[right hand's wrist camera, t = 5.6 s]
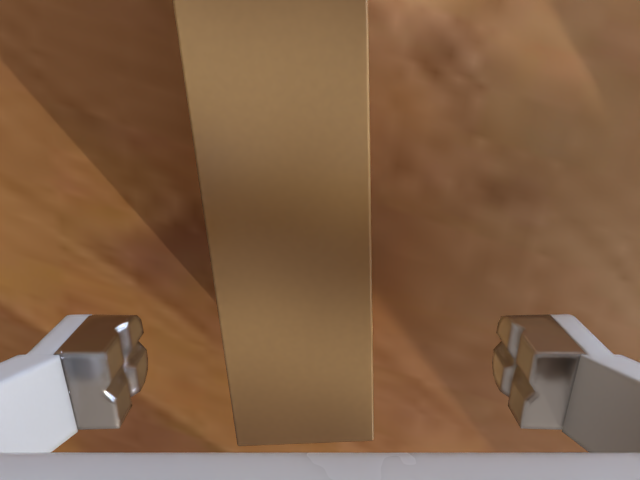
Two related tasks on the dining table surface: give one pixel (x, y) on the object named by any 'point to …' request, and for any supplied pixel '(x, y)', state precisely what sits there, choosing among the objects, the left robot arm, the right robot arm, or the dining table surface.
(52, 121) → the dining table surface
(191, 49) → the beam
